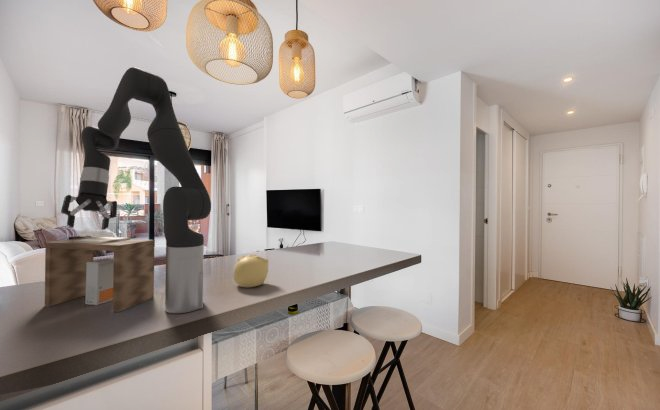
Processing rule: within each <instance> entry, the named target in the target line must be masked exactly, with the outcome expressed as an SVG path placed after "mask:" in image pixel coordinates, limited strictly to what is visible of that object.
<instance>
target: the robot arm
mask: <svg viewBox="0 0 660 410" xmlns="http://www.w3.org/2000/svg"><path fill="white" fill-rule="evenodd" d="M131 100H136V101H140V102H143V103H146V104H149V105H151V106H152V107H153V108H154V112H155V116H154V118H153V120H152V121H151V123H150V124H149V126H148V129H147V134H146V135H147V141H148V142H149V145H150V149H151V151H152V154H153V156H154V158H155V159H156V160H157V161H158V162H159V163H160V164H161V165H162V166H163V167H164V168H165V169H166V170H167V171H168V172H169V173H171V174H172V175H173V177H175V179H176V180H177V181H178V183H179V184H180V186H170V187H169V188H168V189H167V190H166V191H165V193H164V196H163V200H162V214H163V217H162V219H163V235H164V238H165V283H164V284H165V289H164V290H165V293H164V294H165V297H164V309H165V312H166V313H168V314H183V313H185V314H186V313H190V312H194V311H196V310H200V309H204V306H203V305H204V251H205V250H204V247H205V246H204V245H205V240H204V239H205V237H204V235H203V234H202V233H200V232H198V231H197V232H196V231H194V230H193V229H191V228H190V227H189V222H188V221H199V220H204V219H206V218H208V216H209V215H210V214H211V212H212V211H211V210H212V201H211V197H210V195H209V192H208V190H207V187H206V186H205V184H204V183H203V180H202V178H201V177H200V174H199V172H198V170H197V168H196V165H195V163H194V161H193V158H192V157H191V154H190V151H189V148H188V145H187V142H186V139H185V137H184V134H183V132H182V130H181V128H180V124H179V122H178V119H177V116H176V114H175V110H174V106H173V103H172V97H171V93H170V90H169V87H168V85H167V82H166V81H165V79H164V78H162V76H159V75H158V74H157V75H156V74H154V73H152V72H149V71H147V70H144V69H142V68H139V67H135V66H133V67H128V68H127V70H126V71H125V72H124V73H123V75H122V77H121V79H120V81H119V84H118V86H117V88H116V90H115V93H114V95H113V97H112V100H111V102H110V105H109V107H108V108H107V109H106V111H105V112H104V114H103V115H102V116H101V118H100V119H98V122H97V126H93V125H88V126H85V127H84V128H83V129H82V130H81V133H80V136H81V137H80V138H81V142H82V143H81V144H82V146H83V153H84V161H83V167H82V172H81V174H80V177H79V178H80V179H79V180H80V181H79V186H78V194H77V196H72V195H70V194H67V195H65V196H64V199H63V202H62V206H61V210H60V213H61V214H62V215H65V216H66V215H67V222H66V225H67V227H68V228H69V229H70V228H71V229H73V228H74V226H75V221H76V214H77V213H79V212H80V211H81V210H82V211H84V212H88V211H90V212H92V213H93V212H94V213H95V212H96V213H97V212H98V213H99V214H100V215H101V217H102V218H103V219H102V222H101V230H102V231H103V230H104V231H105V230H106V229H108V228H109V223H110V219H114V218H116V217H117V212H118V211H117V210H118V202H117V201H116V200H113V201H111V200H107V197H108V196H107V195H108V189H109V182H110V167H111V166H110V165H111V157H110V156H109V155H107V154H105V153H103V152H100V151H99V150H98V149H100V150H104V151H114V150H117V148H118V147H119V143H120V138H121V136H122V134H123V132H124V131H125V130H126V129H127V128H128V127H129V126H130V123H131V120H132V116H131V110H130V108H129V102H130V101H131ZM74 201H75V202H76V204H77V205H78V206H76V207H75V208H73V209H72V210H70V209H69V208H70V204H71V203H73V202H74ZM106 205H108V207H109V208H110V210H109V213H108V210H107V209H106V208H105V206H106Z"/></svg>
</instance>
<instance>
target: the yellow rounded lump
mask: <svg viewBox="0 0 660 410" xmlns="http://www.w3.org/2000/svg"><path fill="white" fill-rule="evenodd" d="M268 272H269V259H267V258H264V257H262V256H259V255H257V254H250V255H243V256H241V257H239V258H237V262H236V263H235V265H234V268H233V272H232V273H233V281H234V283H235V284H236V285H237V286H238V287H242V288H254V287H258V286H261V285H263V284H264V283H265V281H266V280H267V278H268V277H267V276H268Z"/></svg>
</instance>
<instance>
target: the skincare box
mask: <svg viewBox="0 0 660 410" xmlns="http://www.w3.org/2000/svg"><path fill="white" fill-rule="evenodd" d="M113 272H114V258H110V257H106V258H102V259H101V258H100V259H96V260H93V261H90V262H87V266H86V295H85V299H84V301H85V305H90V306H99V305H103V304H104V303H107V302H111V301H113Z"/></svg>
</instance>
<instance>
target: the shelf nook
mask: <svg viewBox="0 0 660 410" xmlns="http://www.w3.org/2000/svg"><path fill="white" fill-rule="evenodd" d="M44 251H45V256H44V261H45V265H44V273H45V274H44V307H51V306H52V307H53V306H55V305H59V304H61V303H62V304H63V303H65V302H67V301H71V300H75V299H78V298H81V297H84V296H86V266H87V262H90V261H94V255H95V254H94V251H104V252H105V251H106V252H107V251H109V252H113V259H114V272H113V300H112V312H113V313H120V312H121V311H122V312H123V311H124V310H125V311H126V310H127V309H129V308H132V307H134V306H136V305H138V304H141V303H143V302H146V301H148V300H151V299H153V298H154V296H155V293H154V291H155V239H144V238H143V239H142V238H141V239H139V238H137V239H136V238H131V237H121V236H119V237H118V236H99V237H92V236H91V237H82V238H73V239H63V240H56V241H54V240H53V241H45V250H44Z"/></svg>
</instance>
